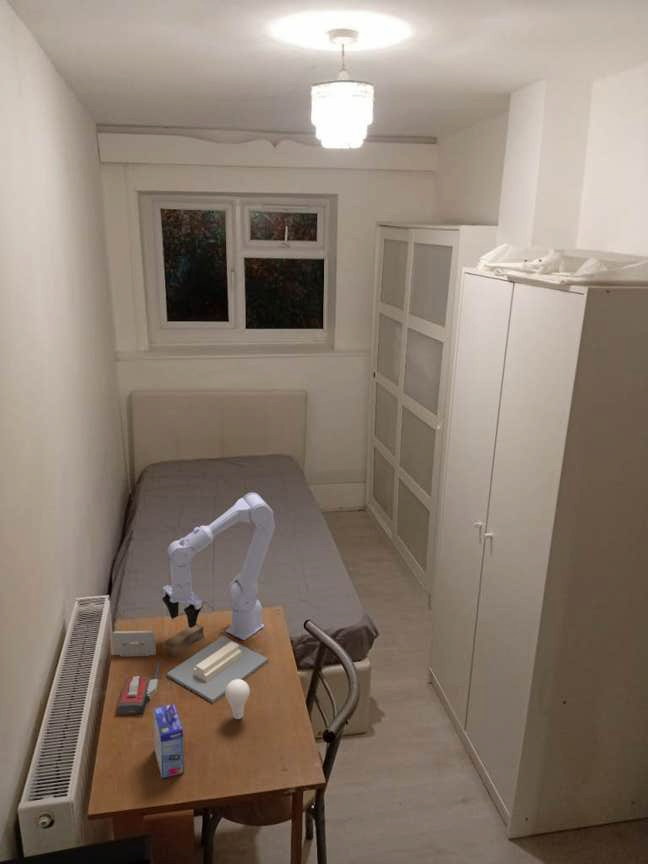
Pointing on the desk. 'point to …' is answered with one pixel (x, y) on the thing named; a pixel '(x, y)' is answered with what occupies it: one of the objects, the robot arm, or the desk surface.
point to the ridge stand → (217, 668)
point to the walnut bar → (183, 639)
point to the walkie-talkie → (137, 693)
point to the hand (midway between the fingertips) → (183, 621)
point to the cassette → (134, 649)
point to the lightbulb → (237, 696)
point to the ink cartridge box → (168, 740)
